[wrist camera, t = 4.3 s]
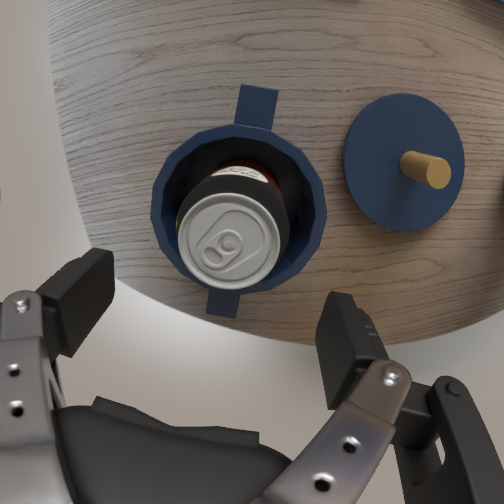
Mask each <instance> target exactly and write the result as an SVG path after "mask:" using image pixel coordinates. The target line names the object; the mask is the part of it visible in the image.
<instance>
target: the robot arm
mask: <svg viewBox="0 0 504 504" xmlns="http://www.w3.org/2000/svg"><path fill="white" fill-rule="evenodd" d="M114 292H115V280H114V256H113V253H112V251H109V250H104V249H99V248H92V249H91V250H89V251H88V252H87V253H86V254H84V255H83V256H82V257H81V258H80V257H79V258H77V259H74V260H72V261H70V262H68V263H67V264H65V265H64V266H63V267H62V268H61V270H58V271H57V272H56V273H55V274H54V276H51V277H50V278H49V279H48V280H47V281H46V282H45V283H43V284H42V285H41V286H40V287H39V288H38V289H37V290H36V291H35V292H34V291H28V290H22V291H18V292H15V293H12V294H10V295H9V296H8V297H7V298H6V299H5V300H4V302H3V303H2V302H0V504H355V503H356V502H357V500H358V499H359V497H360V495H361V494H362V492H363V491H364V489H365V487H366V486H367V484H368V482H369V481H370V479H371V477H372V475H373V474H374V472H375V470H376V468H377V467H378V465H379V463H380V461H381V459H382V457H383V455H384V453H385V452H386V450H387V448H388V446H389V444H393V445H394V450H395V454H396V459H397V464H398V468H399V473H400V478H401V484H402V489H403V494H404V500H405V504H504V470H503V467H502V465H501V462H500V460H499V457H498V455H497V452H496V450H495V447H494V445H493V442H492V440H491V438H490V435H489V433H488V431H487V429H486V427H485V424H484V422H483V420H482V418H481V415H480V413H479V411H478V409H477V407H476V405H475V403H474V401H473V399H472V397H471V395H470V393H469V391H468V389H467V388H466V387H465V385H464V384H463V383H462V382H460V381H459V380H457V379H456V378H453V377H451V376H441V377H439V378H437V380H436V381H435V383H434V384H433V385H432V387H431V386H427V385H423V384H420V383H416V382H413V381H412V377H411V375H410V373H409V371H408V370H407V369H406V368H405V367H404V366H403V365H401V364H400V363H398V362H396V361H393V360H390V359H389V357H388V355H387V353H386V350H385V348H384V346H383V343H382V341H381V339H380V337H379V336H378V333H377V330H376V329H375V326H374V324H373V322H372V320H371V318H370V317H369V316H368V315H367V314H366V313H365V312H364V311H363V310H362V309H358V308H357V306H356V304H355V302H354V300H353V297H352V295H351V294H347V293H340V292H334V291H331V292H330V293H329V294H328V296H327V299H326V302H325V305H324V308H323V311H322V314H321V317H320V320H319V322H318V325H317V329H316V335H315V342H316V348H317V353H318V358H319V363H320V368H321V373H322V379H323V385H324V390H325V396H326V402H327V407H328V410H336V411H335V412H334V413H333V415H332V416H331V417H330V419H329V420H328V421H327V422H326V423H325V425H324V426H323V427H322V428H321V430H320V431H319V432H318V433H317V435H316V436H315V437H314V438H313V439H312V440H311V442H310V443H309V444H308V445H307V446H306V447H305V449H304V450H303V451H302V452H301V453H300V454H299V455H298V456H297V457H296V459H295V460H294V461H292V460H291V459H289V458H288V457H286V456H285V455H283V454H282V453H280V452H278V451H276V450H274V449H272V448H270V447H268V446H265V445H262V444H259V432H256V431H247V430H239V429H232V428H226V427H219V426H211V427H210V426H209V427H174V426H170V425H167V424H165V423H163V422H161V421H159V420H157V419H155V418H153V417H151V416H149V415H147V414H145V413H143V412H141V411H139V410H137V409H136V408H134V407H131V406H127V405H124V404H121V403H117V402H114V401H111V400H108V399H105V398H102V397H99V396H96V398H95V400H94V402H93V404H92V406H69V407H67V406H66V403H65V398H64V393H63V389H62V385H61V379H60V374H59V368H58V363H57V360H56V358H57V357H58V355H59V354H61V355H64V356H67V357H69V358H72V357H73V355H74V354H75V352H76V351H77V349H78V348H79V347H80V345H81V344H82V342H83V341H84V339H85V338H86V337H87V335H88V334H89V333H90V331H91V330H92V328H93V327H94V326H95V324H96V323H97V322H98V320H99V319H100V317H101V316H102V315H103V313H104V312H105V311H106V309H107V308H108V307H109V305H110V304H111V303H112V300H113V297H114ZM439 437H440V439H441V442H442V445H443V448H444V451H445V460H444V463H443V465H442V464H441V460H440V457H439V454H438V450H437V447H436V444H435V441H436V440H437V439H438V438H439Z"/></svg>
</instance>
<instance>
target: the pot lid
mask: <svg viewBox="0 0 504 504" xmlns="http://www.w3.org/2000/svg"><path fill="white" fill-rule="evenodd" d="M343 173H344V177H345V182H346V185H347V188H348V191H349V193H350V195H351V197H352V199H353V200H354V202H355V203H356V205H357V206H358V208H359V209H360V210H361V211H362V212H363V213H364V214H365V215H366V216H367V217H368V218H369V219H370V220H372V221H373V222H375V223H376V224H378V225H380V226H382V227H384V228H386V229H390V230H393V231H399V232H410V231H416V230H420V229H423V228H425V227H428V226H430V225H432V224H433V223H435V222H436V221H438V220H439V219H440V218H441V217H443V215H444V214H445V213H446V212H447V211H448V210H449V209H450V207H451V206H452V205H453V203H454V201H455V200H456V198H457V196H458V193H459V191H460V188H461V185H462V181H463V176H464V151H463V147H462V142H461V139H460V137H459V134H458V132H457V130H456V128H455V126H454V124H453V123H452V121H451V120H450V118H449V117H448V116H447V115H446V113H445V112H444V111H443V110H442V109H440V108H439V107H438V106H437V105H435V104H434V103H433V102H431V101H429V100H427V99H425V98H423V97H420V96H417V95H413V94H404V93H399V94H392V95H388V96H384V97H381V98H379V99H377V100H375V101H373V102H372V103H370V104H369V105H367V106H366V107H365V108H364V109H363V110H362V111H361V112H360V113H359V114H358V116H357V117H356V118H355V120H354V121H353V123H352V125H351V126H350V129H349V131H348V133H347V136H346V140H345V143H344V149H343Z"/></svg>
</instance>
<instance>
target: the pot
mask: <svg viewBox="0 0 504 504" xmlns="http://www.w3.org/2000/svg"><path fill="white" fill-rule="evenodd" d="M278 92H279V90H276V89H271V88H265V87H259V86H253V85H247V84H241V87H240V92H239V97H238V103H237V108H236V114H235V119H234V124H230V125H225V126H221V127H217V128H213V129H209V130H206V131H202V132H198V133H197V134H195V135H194V136H192V137H191V138H190V139H188V140H187V141H186V142H185V143H183V144H182V145H181V146H179V147H178V148H177V149H176V150H174V151H173V152H172V153H171V154H170V155H169V156H168V158H167V159H166V161H165V163H164V165H163V167H162V169H161V171H160V173H159V174H158V176H157V178H156V180H155V182H154V185H153V190H152V202H151V216H150V217H151V222H152V225H153V228H154V231H155V234H156V237H157V240H158V243H159V246H160V248H161V250H162V251H163V253H164V254H165V255H166V256H167V257H168V259H169V260H170V261H171V262H172V263H173V265H174V266H175V267H176V268H177V269H178V271H179V272H180V273H181V274H183V275H184V276H186V277H188V278H190V279H191V280H193V281H195V282H196V283H198V284H200V285H202V286H203V287H205V288H207V289H209V292H208V300H207V308H206V314H210V315H216V316H221V317H227V318H233V319H236V315H237V310H238V305H239V299H240V295H242V294H248V293H254V292H260V291H265V290H271V289H273V288H275V287H276V286H278V285H280V284H281V283H283V282H285V281H287V280H288V279H290V278H292V277H293V276H295V275H297V274H298V273H299V272H300V271H301V270H302V268H303V267H304V266H305V265H306V263H307V262H308V261H309V259H310V258H311V257H312V256H313V254H314V253H315V252H316V250H317V249H318V247H319V245H320V241H321V238H322V234H323V230H324V226H325V223H326V219H327V210H326V203H325V197H324V191H323V184H322V181H321V179H320V177H319V176H318V174H317V172H316V171H315V169H314V168H313V166H312V165H311V163H310V162H309V160H308V159H307V157H306V156H305V154H304V152H303V151H302V150H301V149H299V148H298V147H296V146H295V145H293V144H292V143H290V142H289V141H287V140H286V139H284V138H283V137H281V136H280V135H278V134H276V133H275V132H273V131H271V129H272V124H273V118H274V113H275V108H276V103H277V98H278ZM237 158H247V159H252V160H256V161H258V162H260V163H262V164H264V165H265V166H266V167H268V168H269V169H270V170H271V171H272V173H273V174H274V175H275V177H276V179H277V181H278V183H279V187H280V190H281V194H282V198H283V201H284V205H285V209H286V213H287V217H288V221H289V239H288V244H287V247H286V250H285V252H284V254H283V256H282V258H281V259H280V261H279V262H278V263H277V265H276V266H275V267H274V268H273V269H272V270H271V271H270V272H269V273H268V274H267V275H266V276H265V277H264V278H263V279H262V280H260V281H259V282H257V283H255V284H253V285H251V286H248V287H245V288H241V289H221V288H216V287H213V286H211V285H208V284H206V283H204V282H203V281H201V280H199V279H198V278H197V277H196V276H194V275H193V274H192V273H191V272H190V270H189V269H188V268H187V267H186V265H185V263H184V262H183V260H182V257H181V255H180V251H179V246H178V241H177V236H176V221H177V216H178V212H179V209H180V207H181V205H182V202H183V201H184V199H185V198H186V196H187V195H188V194H189V193H190V192H191V191H192V190H193V189H194V188H195V187H196V186H197V185H198V184H199V183H200V182H201V181H203V180H204V179H205V178H206V177H207V176H208V175H209V174H210V173H211V172H212V171H214V170H215V169H216V168H217V167H218V166H219V165H221V164H222V163H224V162H226V161H229V160H232V159H237Z"/></svg>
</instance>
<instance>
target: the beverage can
mask: <svg viewBox="0 0 504 504" xmlns="http://www.w3.org/2000/svg"><path fill="white" fill-rule="evenodd" d="M176 236H177V241H178V246H179V251H180V255H181V257H182V260H183V262H184V263H185V265H186V267H187V268H188V269H189V270H190V272H191V273H192V274H193V275H194V276H196V277H197V278H198V279H199V280H201V281H203V282H204V283H206V284H208V285H211V286H213V287H216V288H221V289H241V288H245V287H248V286H251V285H253V284H255V283H257V282H259V281H260V280H262V279H263V278H264V277H265V276H266V275H267V274H268V273H269V272H270V271H271V270H272V269H273V268H274V267H275V266H276V265H277V263H278V262H279V261H280V259H281V258H282V256H283V254H284V252H285V250H286V247H287V244H288V239H289V221H288V217H287V213H286V209H285V205H284V201H283V198H282V194H281V190H280V187H279V183H278V181H277V179H276V177H275V175H274V174H273V173H272V171H271V170H270V169H269V168H268V167H266V166H265V165H264V164H262V163H260V162H258V161H256V160H252V159H247V158H237V159H232V160H229V161H226V162H224V163H222V164H221V165H219V166H218V167H217V168H216V169H215V170H214V171H212V172H211V173H210V174H209V175H208V176H207V177H206V178H205V179H204V180H203V181H201V182H200V183H199V184H198V185H197V186H196V187H195V188H194V189H193V190H192V191H191V192H190V193H189V194H188V195H187V196H186V198H185V199H184V201H183V202H182V205H181V207H180V209H179V212H178V216H177V221H176Z"/></svg>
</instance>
